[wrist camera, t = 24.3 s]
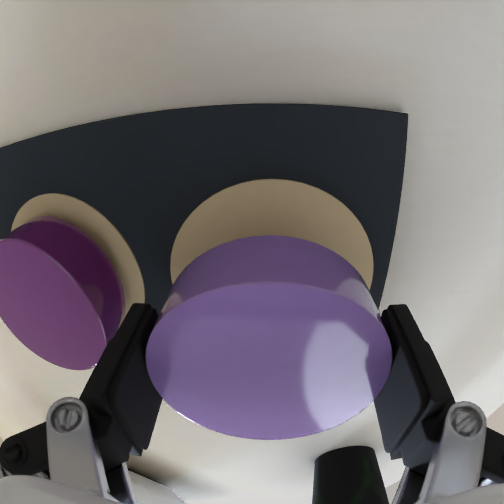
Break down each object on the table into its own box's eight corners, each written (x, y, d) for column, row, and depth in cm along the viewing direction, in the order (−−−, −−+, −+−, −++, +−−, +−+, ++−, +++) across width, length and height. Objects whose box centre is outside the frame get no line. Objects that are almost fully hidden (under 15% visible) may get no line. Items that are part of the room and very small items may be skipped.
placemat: (-16, 153, 11) (-23, 156, 10) (404, 113, 10) (409, 114, 9) (53, 353, 17) (50, 358, 17) (356, 375, 16) (357, 382, 16)
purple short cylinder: (4, 214, 12) (-33, 240, 9) (111, 204, 11) (73, 237, 9) (45, 324, 15) (21, 356, 13) (145, 338, 15) (127, 381, 12)
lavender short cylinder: (154, 227, 9) (115, 278, 7) (385, 227, 9) (424, 279, 6) (187, 377, 13) (173, 433, 10) (349, 378, 12) (360, 435, 10)
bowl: (42, 448, 31) (30, 475, 26) (65, 411, 22) (44, 457, 17) (163, 505, 37) (158, 532, 32) (250, 491, 28) (246, 532, 23)
